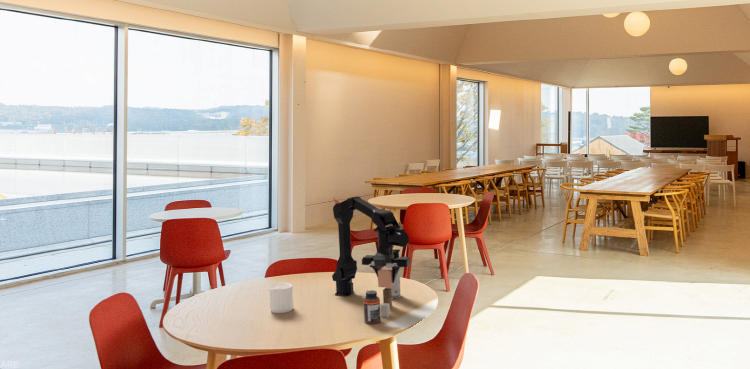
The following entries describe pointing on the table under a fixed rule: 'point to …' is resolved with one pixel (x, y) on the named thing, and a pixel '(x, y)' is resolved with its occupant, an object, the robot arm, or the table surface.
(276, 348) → the table surface
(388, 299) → the post
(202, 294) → the table surface
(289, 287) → the cup
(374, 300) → the supplement bottle
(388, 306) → the white block
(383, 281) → the pink foam cube
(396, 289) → the travel mug
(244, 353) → the table surface
